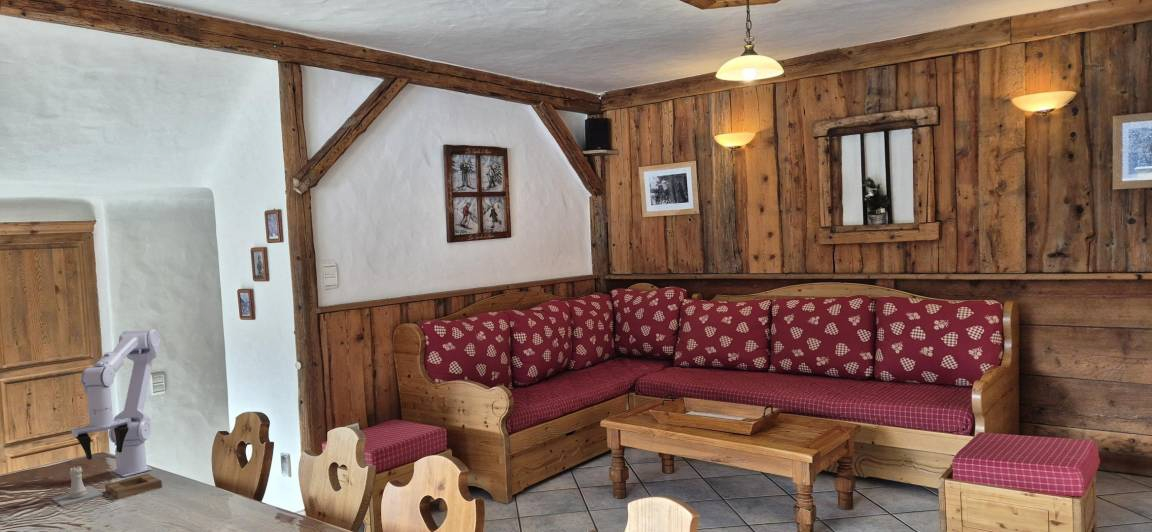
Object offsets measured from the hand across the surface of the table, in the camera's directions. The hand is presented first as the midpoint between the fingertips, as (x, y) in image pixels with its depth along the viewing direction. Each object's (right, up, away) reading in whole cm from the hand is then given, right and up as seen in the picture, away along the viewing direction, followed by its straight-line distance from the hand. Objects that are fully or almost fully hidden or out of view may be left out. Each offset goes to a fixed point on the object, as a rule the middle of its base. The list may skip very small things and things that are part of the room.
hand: (104, 455), depth 217 cm
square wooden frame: (+10, -9, -2) cm, 14 cm away
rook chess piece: (-3, -10, -7) cm, 12 cm away
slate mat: (-3, -10, -7) cm, 13 cm away
